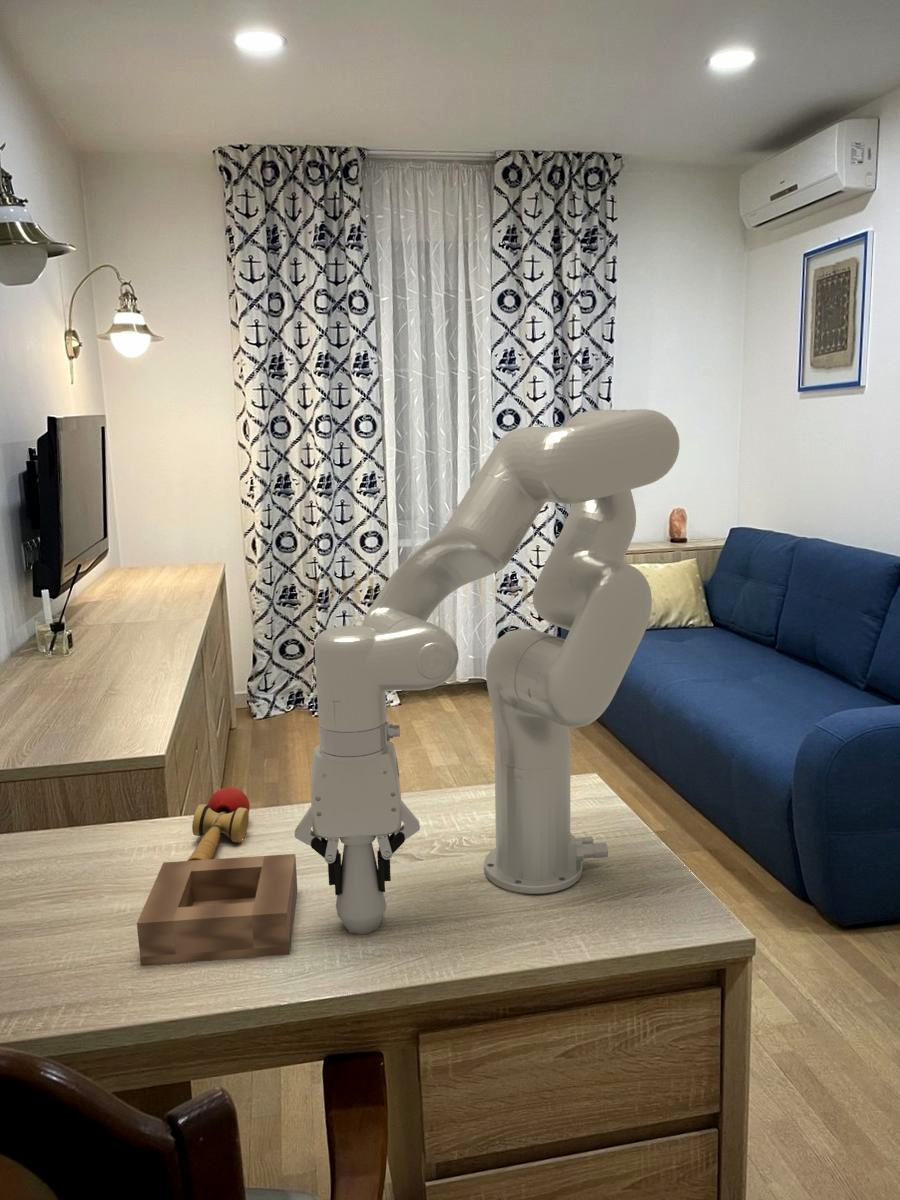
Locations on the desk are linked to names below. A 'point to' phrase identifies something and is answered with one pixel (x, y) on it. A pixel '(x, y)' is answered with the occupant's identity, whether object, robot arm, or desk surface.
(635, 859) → the desk surface
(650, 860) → the desk surface
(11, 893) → the desk surface
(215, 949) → the socket block
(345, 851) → the grey rounded peg
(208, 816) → the kendama
